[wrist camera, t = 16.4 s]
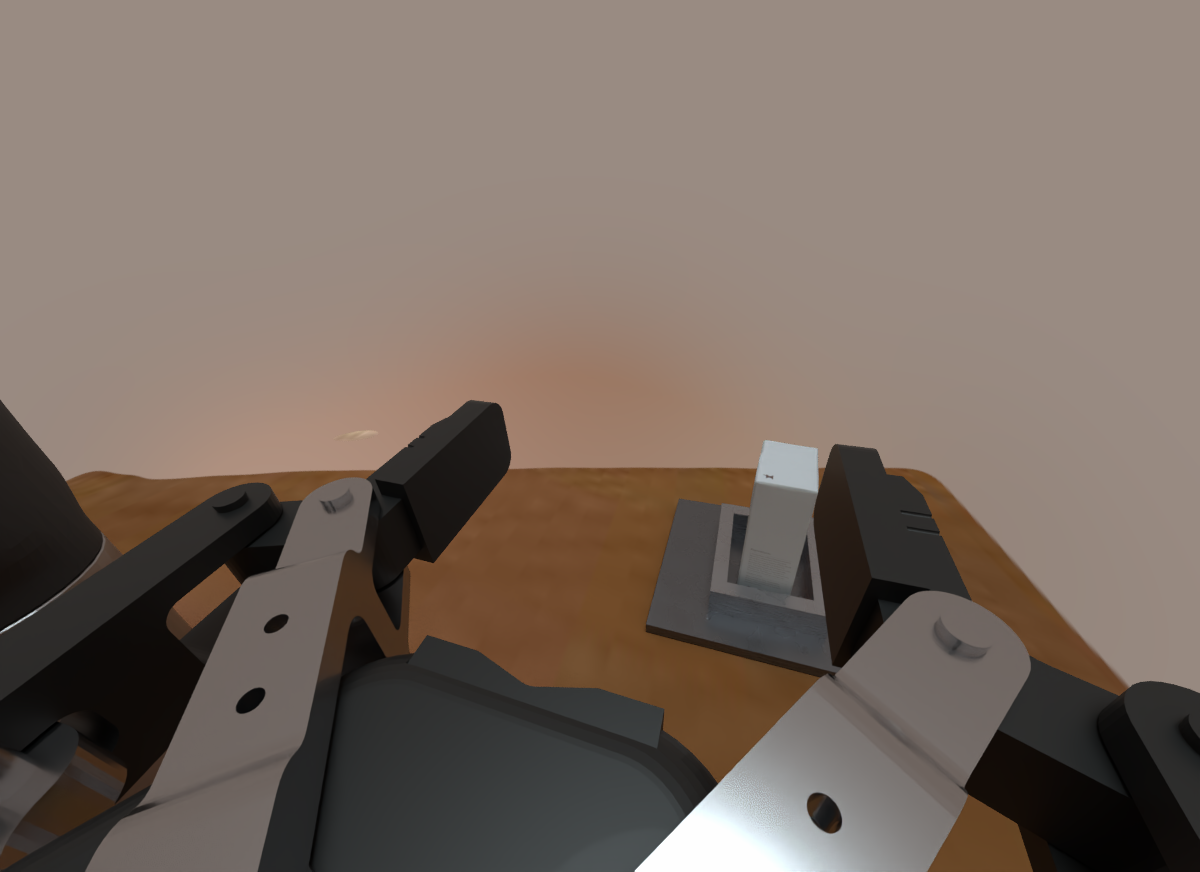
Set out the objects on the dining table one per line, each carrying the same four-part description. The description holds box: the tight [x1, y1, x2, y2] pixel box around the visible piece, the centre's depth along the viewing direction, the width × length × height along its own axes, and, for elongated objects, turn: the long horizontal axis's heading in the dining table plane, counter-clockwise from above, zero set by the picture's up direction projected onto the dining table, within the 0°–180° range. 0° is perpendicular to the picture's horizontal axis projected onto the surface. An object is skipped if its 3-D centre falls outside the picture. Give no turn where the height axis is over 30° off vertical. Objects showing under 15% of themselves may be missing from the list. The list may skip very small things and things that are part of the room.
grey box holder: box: [646, 499, 841, 677], centre depth 37 cm, size 18×16×4 cm
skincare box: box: [737, 440, 819, 595], centre depth 35 cm, size 6×4×12 cm
